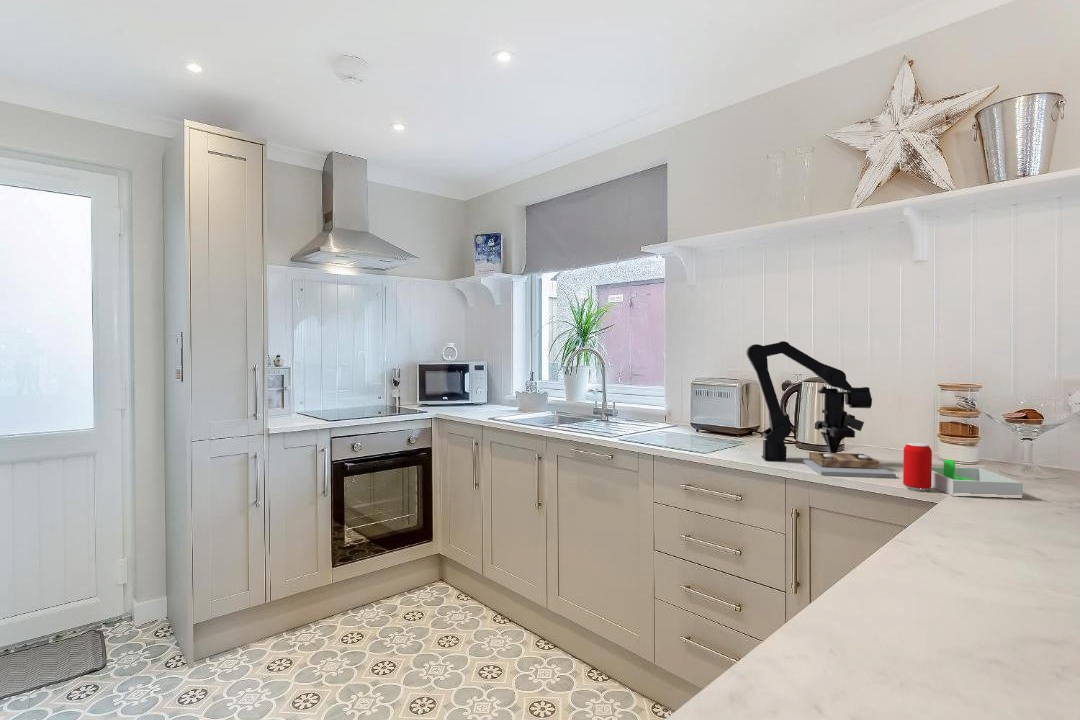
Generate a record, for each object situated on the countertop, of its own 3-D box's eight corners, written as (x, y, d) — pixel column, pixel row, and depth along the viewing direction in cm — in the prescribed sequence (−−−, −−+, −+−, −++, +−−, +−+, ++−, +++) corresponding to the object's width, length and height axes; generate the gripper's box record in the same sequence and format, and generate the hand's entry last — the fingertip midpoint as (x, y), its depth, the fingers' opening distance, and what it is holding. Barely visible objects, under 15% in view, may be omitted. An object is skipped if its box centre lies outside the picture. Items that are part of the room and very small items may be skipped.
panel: (821, 466, 167) (821, 459, 167) (809, 458, 179) (809, 452, 179) (879, 468, 165) (879, 461, 165) (862, 460, 177) (862, 453, 176)
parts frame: (952, 496, 139) (953, 480, 139) (918, 480, 156) (918, 466, 156) (1022, 499, 137) (1022, 483, 137) (979, 482, 154) (980, 468, 154)
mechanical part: (972, 495, 141) (972, 464, 141) (943, 491, 145) (943, 460, 145) (975, 486, 150) (975, 457, 150) (947, 482, 154) (948, 454, 154)
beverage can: (927, 493, 142) (928, 446, 142) (899, 488, 147) (900, 443, 147) (934, 489, 146) (934, 444, 146) (907, 484, 151) (907, 441, 151)
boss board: (821, 475, 162) (821, 460, 162) (802, 462, 180) (802, 449, 179) (895, 478, 158) (896, 462, 158) (869, 464, 176) (869, 450, 176)
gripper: (873, 411, 169) (872, 461, 169) (849, 404, 187) (848, 450, 188) (834, 410, 171) (834, 460, 171) (814, 404, 189) (813, 449, 190)
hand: (833, 455), depth 180 cm, fingers closed
